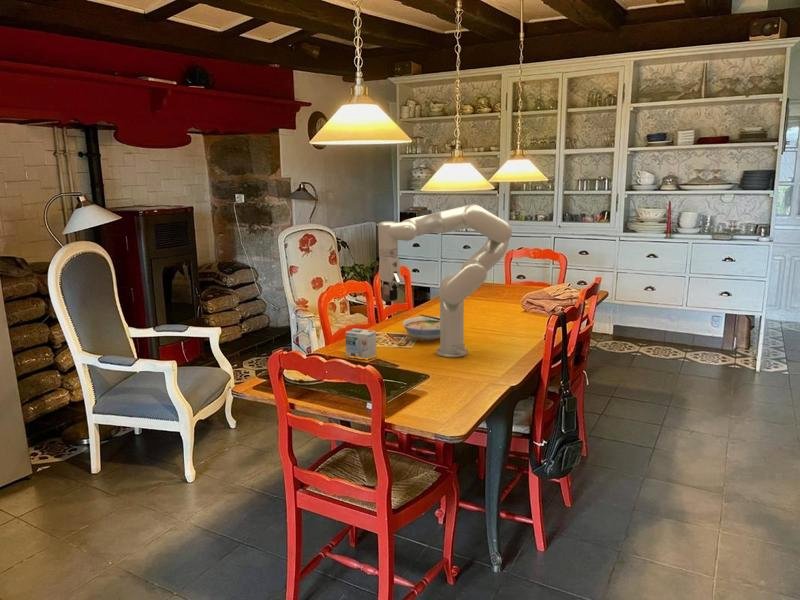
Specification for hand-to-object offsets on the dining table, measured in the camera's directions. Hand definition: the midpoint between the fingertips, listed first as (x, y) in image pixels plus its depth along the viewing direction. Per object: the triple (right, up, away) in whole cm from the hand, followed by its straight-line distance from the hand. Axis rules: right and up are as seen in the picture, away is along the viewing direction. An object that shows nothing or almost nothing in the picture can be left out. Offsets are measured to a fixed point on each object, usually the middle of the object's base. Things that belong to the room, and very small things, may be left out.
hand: (389, 297), depth 236 cm
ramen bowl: (+17, -18, +26) cm, 36 cm away
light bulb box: (-11, -24, +2) cm, 27 cm away
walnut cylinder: (0, -1, 0) cm, 1 cm away
